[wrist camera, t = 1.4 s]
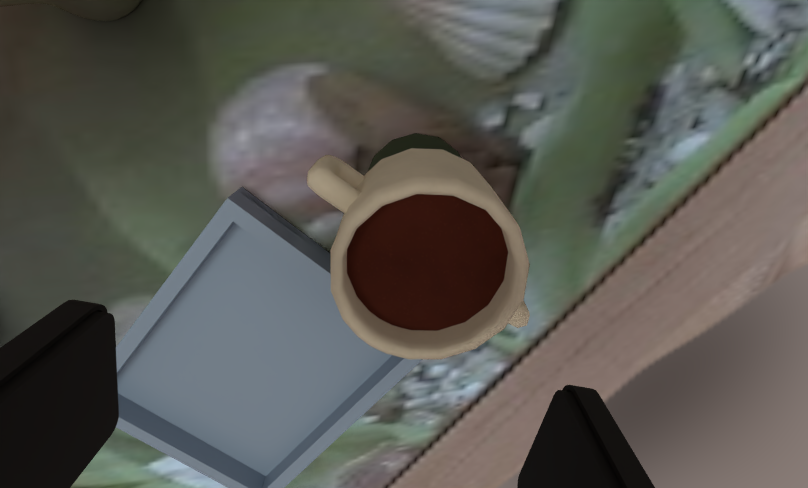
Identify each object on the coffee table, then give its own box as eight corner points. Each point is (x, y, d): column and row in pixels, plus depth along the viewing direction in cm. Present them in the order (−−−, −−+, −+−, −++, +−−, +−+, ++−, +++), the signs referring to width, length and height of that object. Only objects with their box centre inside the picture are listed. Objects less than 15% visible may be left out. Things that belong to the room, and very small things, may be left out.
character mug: (311, 177, 27) (239, 269, 15) (377, 78, 25) (356, 93, 13) (448, 271, 29) (481, 414, 17) (519, 189, 27) (613, 288, 15)
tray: (241, 186, 27) (227, 197, 25) (430, 329, 31) (433, 349, 29) (95, 381, 33) (73, 404, 31) (271, 480, 37) (263, 506, 35)
